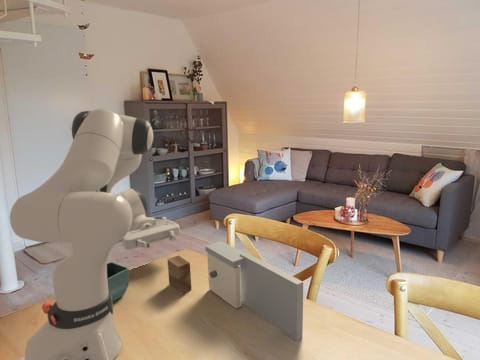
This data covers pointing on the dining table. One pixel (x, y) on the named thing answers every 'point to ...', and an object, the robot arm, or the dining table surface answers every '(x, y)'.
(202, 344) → the dining table surface
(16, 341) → the dining table surface
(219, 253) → the wall
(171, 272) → the walnut block
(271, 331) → the dining table surface
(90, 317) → the robot arm
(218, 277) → the door panel
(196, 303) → the dining table surface
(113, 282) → the flower pot
